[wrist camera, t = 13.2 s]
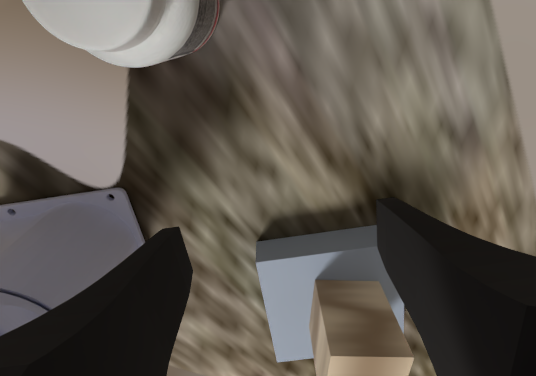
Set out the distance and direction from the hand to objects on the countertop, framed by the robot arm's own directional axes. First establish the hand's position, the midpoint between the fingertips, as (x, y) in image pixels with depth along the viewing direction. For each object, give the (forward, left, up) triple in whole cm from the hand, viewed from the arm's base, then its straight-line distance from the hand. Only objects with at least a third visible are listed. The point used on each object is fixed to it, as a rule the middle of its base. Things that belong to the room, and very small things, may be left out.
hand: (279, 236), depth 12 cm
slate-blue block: (+3, -12, -11) cm, 16 cm away
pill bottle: (-4, +9, -11) cm, 15 cm away
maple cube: (+3, -12, -8) cm, 15 cm away
